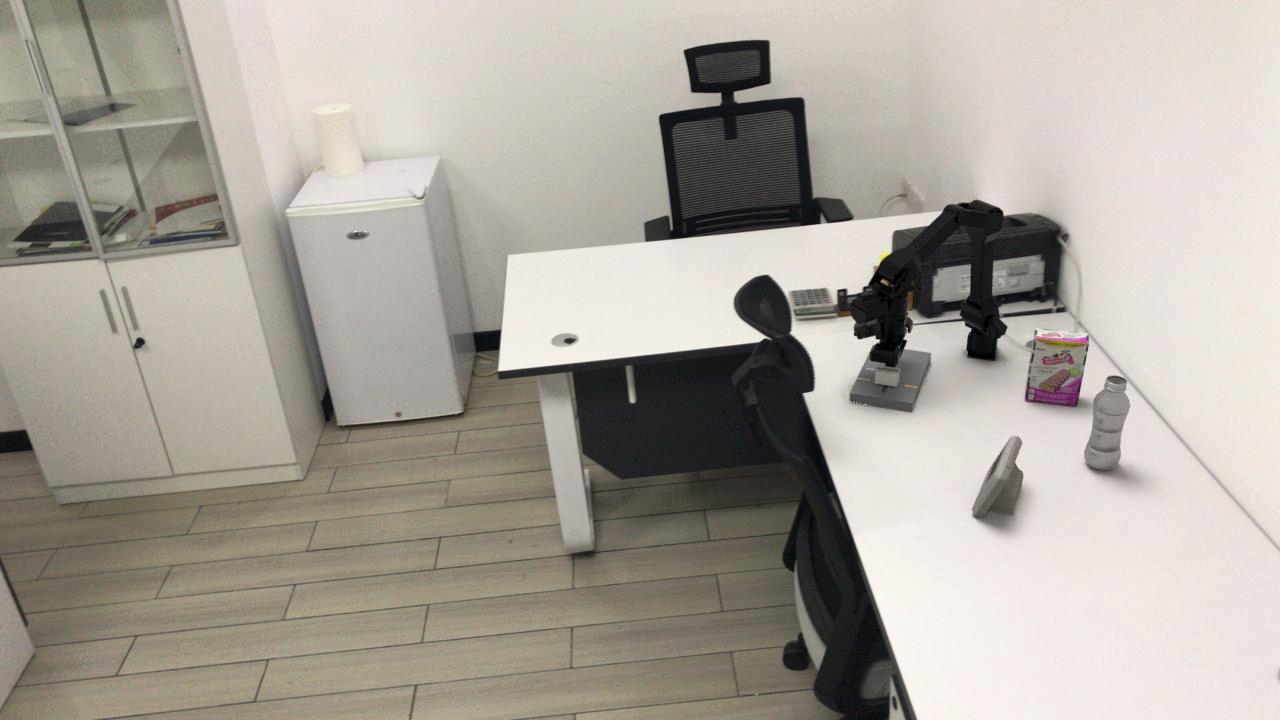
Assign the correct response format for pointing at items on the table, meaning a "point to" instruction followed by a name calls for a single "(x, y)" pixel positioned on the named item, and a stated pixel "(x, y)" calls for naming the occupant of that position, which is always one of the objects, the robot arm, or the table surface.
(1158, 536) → the table surface
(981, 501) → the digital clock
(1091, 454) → the plastic bottle
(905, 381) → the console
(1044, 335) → the candy bar box
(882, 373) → the fader knob
